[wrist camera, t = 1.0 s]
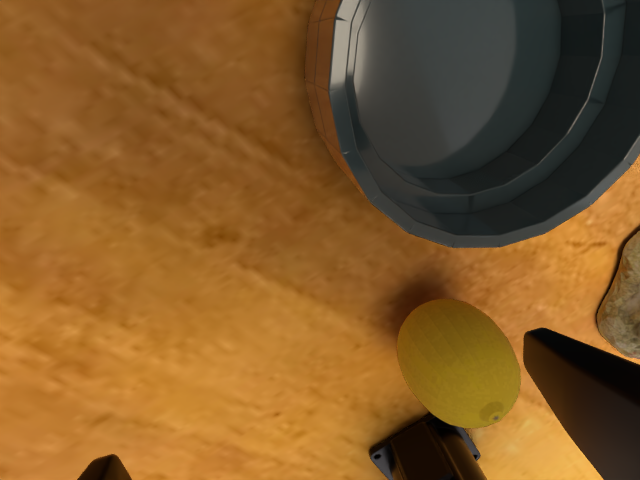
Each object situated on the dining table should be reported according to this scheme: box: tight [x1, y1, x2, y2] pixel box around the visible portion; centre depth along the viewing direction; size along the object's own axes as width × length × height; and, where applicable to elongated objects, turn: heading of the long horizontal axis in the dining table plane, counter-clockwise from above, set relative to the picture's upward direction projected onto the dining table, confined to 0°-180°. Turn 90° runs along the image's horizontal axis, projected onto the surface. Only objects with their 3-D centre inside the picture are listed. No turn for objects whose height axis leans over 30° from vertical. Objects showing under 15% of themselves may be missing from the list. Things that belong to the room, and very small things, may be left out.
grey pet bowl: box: [304, 0, 640, 248], centre depth 17 cm, size 14×14×6 cm
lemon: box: [397, 299, 521, 428], centre depth 22 cm, size 6×6×8 cm
